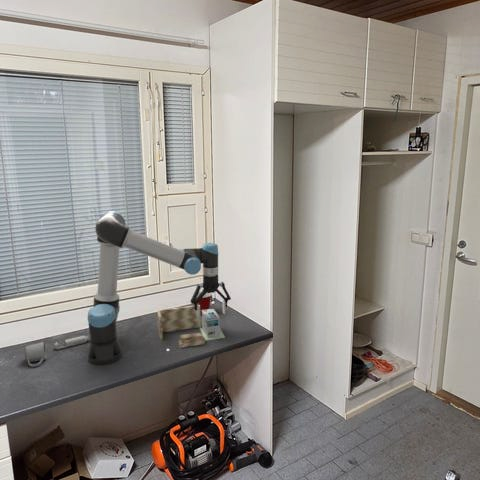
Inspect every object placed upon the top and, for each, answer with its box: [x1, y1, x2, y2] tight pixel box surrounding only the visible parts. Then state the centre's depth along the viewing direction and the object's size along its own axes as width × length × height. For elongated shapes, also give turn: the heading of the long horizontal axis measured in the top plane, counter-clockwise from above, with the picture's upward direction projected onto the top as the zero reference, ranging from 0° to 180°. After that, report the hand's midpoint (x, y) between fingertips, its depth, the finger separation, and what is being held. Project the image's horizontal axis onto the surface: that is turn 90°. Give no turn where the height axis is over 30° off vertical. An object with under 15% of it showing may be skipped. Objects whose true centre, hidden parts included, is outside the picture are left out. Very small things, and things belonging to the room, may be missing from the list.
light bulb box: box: [201, 308, 221, 338], centre depth 212 cm, size 11×7×11 cm, turn 20°
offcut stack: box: [178, 332, 206, 348], centre depth 202 cm, size 12×4×5 cm, turn 107°
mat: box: [199, 327, 226, 342], centre depth 214 cm, size 10×14×1 cm
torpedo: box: [53, 333, 90, 350], centre depth 202 cm, size 18×5×7 cm, turn 123°
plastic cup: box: [195, 291, 213, 316], centre depth 237 cm, size 11×11×12 cm
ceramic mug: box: [23, 341, 47, 368], centre depth 187 cm, size 11×8×8 cm
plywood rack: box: [156, 305, 202, 341], centre depth 213 cm, size 22×10×12 cm, turn 107°
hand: (210, 314), depth 211 cm, fingers open, 13 cm apart
